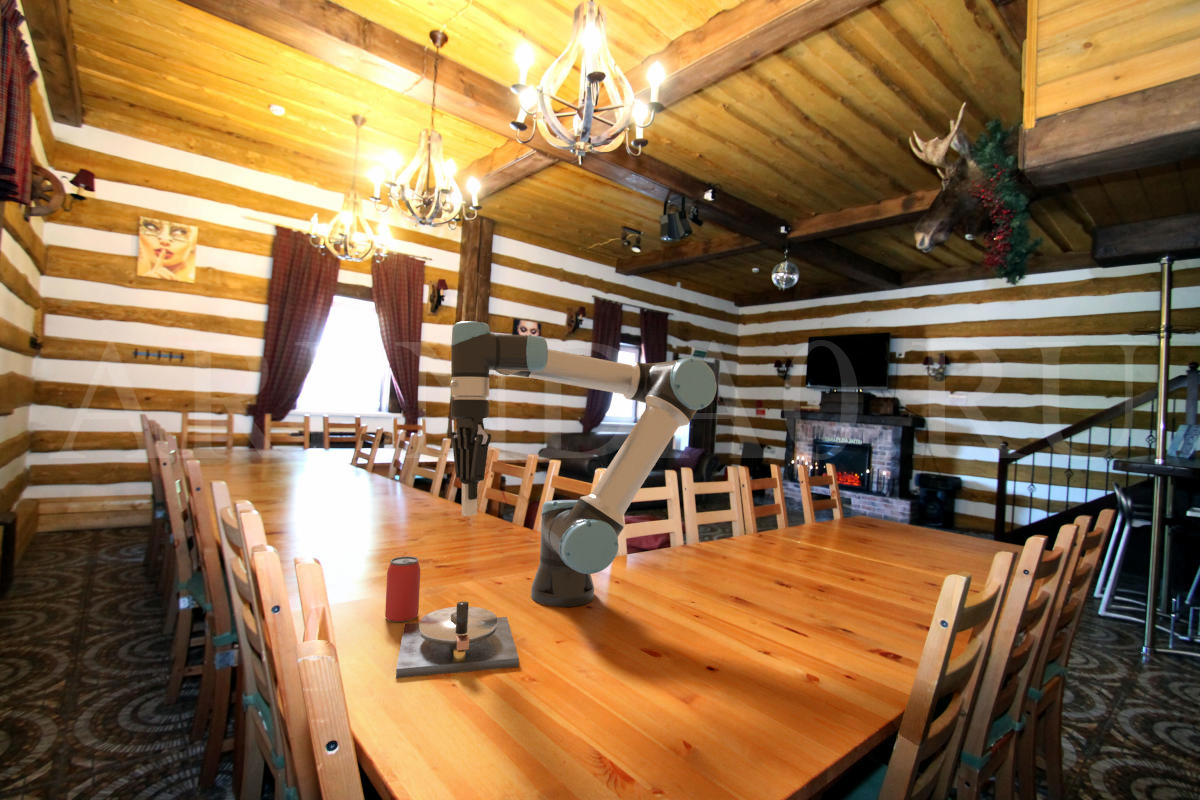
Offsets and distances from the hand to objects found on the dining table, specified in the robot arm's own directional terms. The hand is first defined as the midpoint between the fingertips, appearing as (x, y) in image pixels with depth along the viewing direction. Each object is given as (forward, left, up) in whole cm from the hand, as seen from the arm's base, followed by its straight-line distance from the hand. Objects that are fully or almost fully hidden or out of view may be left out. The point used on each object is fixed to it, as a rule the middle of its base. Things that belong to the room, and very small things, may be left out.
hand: (469, 514), depth 110 cm
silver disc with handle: (+1, +10, -19) cm, 22 cm away
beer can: (+13, -8, -23) cm, 27 cm away
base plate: (+2, +9, -23) cm, 25 cm away
